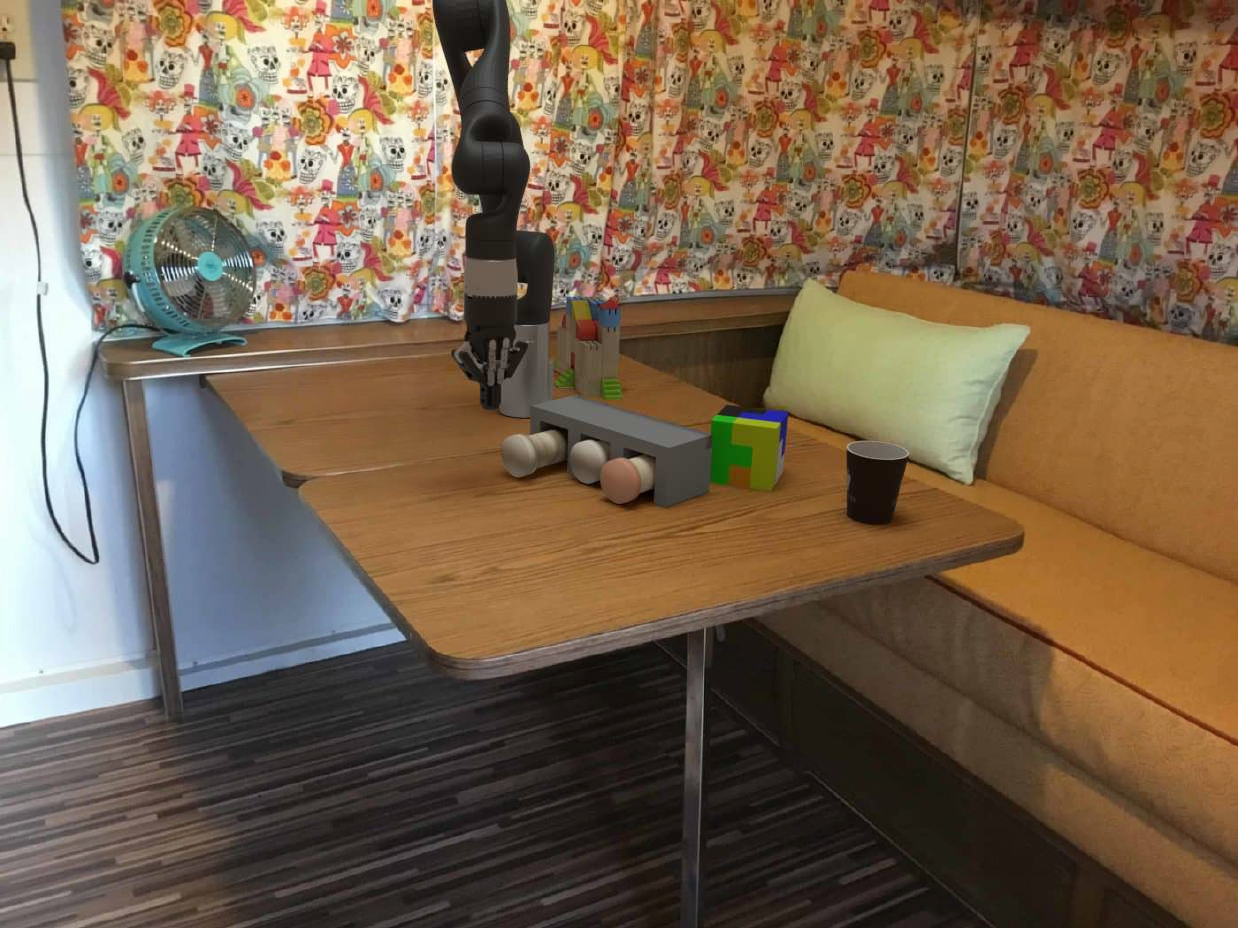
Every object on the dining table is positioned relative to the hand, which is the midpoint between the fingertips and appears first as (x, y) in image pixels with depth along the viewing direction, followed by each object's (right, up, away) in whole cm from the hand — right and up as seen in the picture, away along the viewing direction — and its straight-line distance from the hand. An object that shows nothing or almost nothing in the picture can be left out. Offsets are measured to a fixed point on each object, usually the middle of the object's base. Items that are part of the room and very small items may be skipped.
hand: (490, 408), depth 149 cm
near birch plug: (+6, -9, +10) cm, 15 cm away
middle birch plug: (+17, -10, +9) cm, 22 cm away
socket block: (+18, -10, +10) cm, 23 cm away
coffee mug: (+56, -15, -1) cm, 58 cm away
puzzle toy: (+39, -10, +12) cm, 42 cm away
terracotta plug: (+22, -13, +1) cm, 25 cm away
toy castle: (+12, +9, +65) cm, 67 cm away
